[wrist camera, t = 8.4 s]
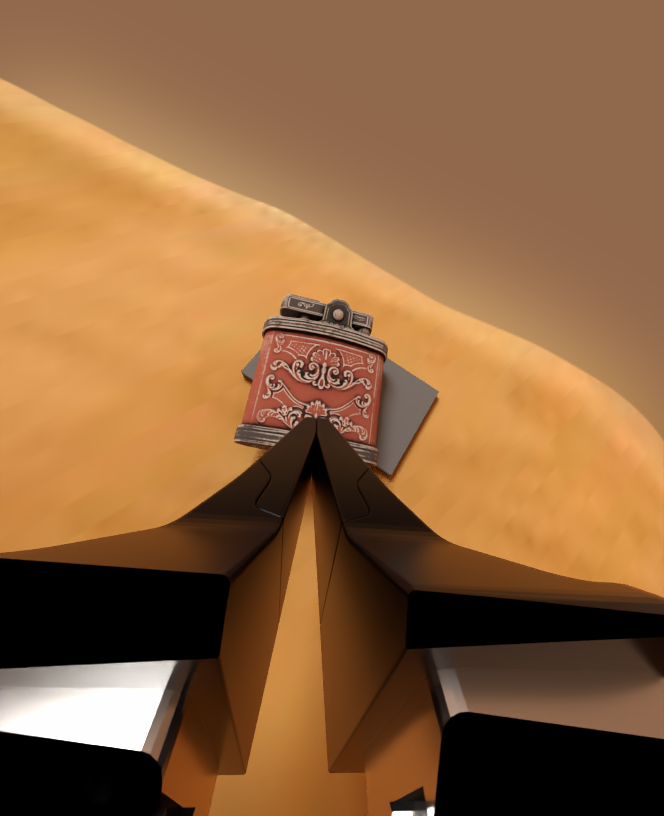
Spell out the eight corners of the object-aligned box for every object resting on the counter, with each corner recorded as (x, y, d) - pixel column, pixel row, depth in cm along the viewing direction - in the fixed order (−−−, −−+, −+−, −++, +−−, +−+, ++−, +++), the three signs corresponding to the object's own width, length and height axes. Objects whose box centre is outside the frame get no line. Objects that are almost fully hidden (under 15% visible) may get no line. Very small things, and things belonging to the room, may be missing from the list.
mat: (388, 475, 16) (390, 475, 16) (242, 374, 17) (240, 371, 17) (435, 394, 18) (438, 391, 18) (302, 307, 19) (302, 302, 19)
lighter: (366, 466, 16) (380, 333, 19) (386, 464, 13) (399, 304, 16) (239, 445, 15) (274, 308, 18) (226, 437, 12) (271, 272, 15)
